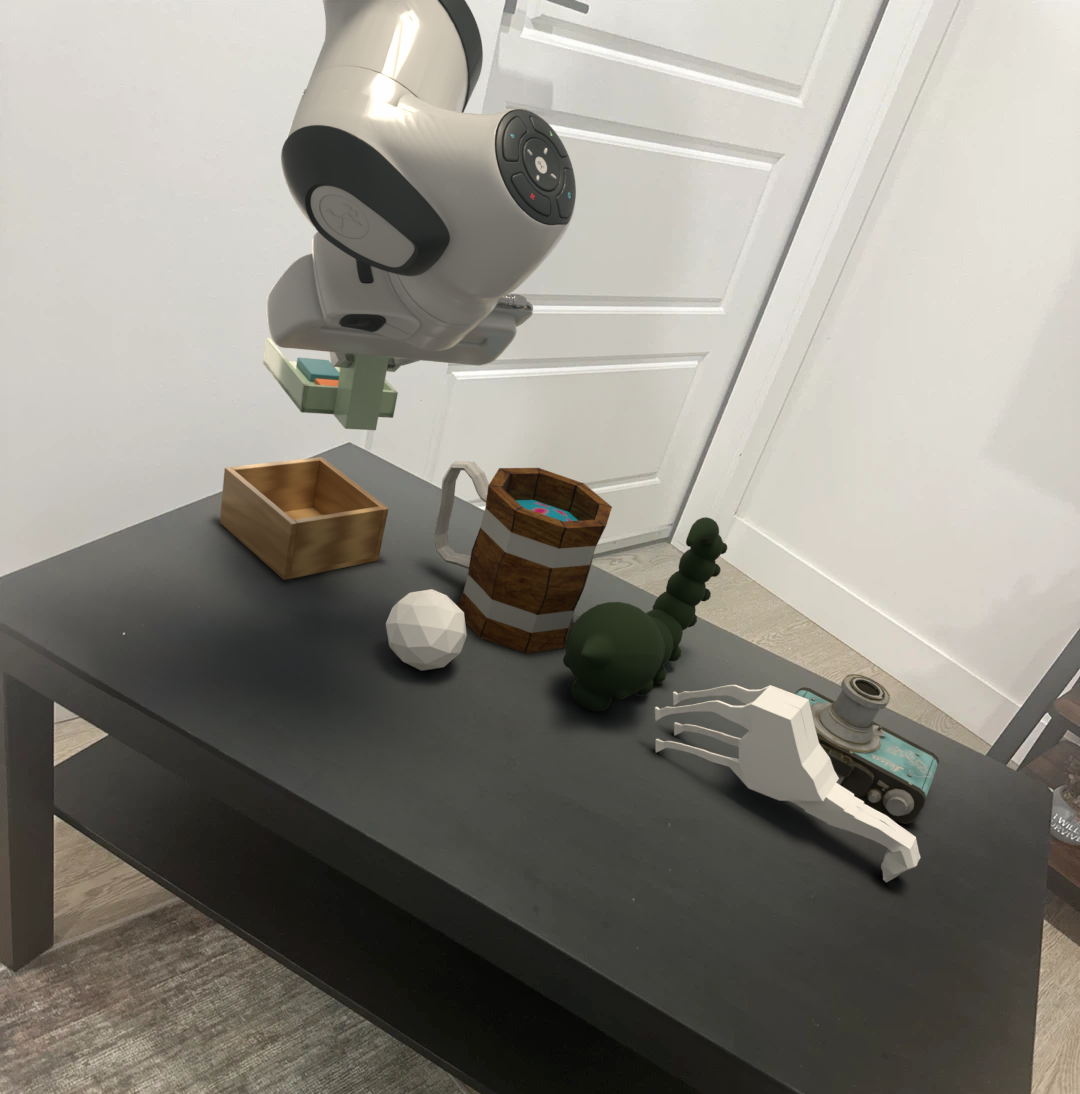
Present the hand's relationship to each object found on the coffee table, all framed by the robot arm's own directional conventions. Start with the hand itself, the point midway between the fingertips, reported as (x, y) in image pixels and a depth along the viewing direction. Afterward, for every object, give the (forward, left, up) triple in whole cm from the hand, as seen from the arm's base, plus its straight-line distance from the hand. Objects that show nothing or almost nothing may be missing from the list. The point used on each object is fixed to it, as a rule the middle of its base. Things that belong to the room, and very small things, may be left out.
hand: (361, 361), depth 86 cm
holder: (+5, +11, -25) cm, 28 cm away
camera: (+33, -46, -25) cm, 62 cm away
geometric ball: (+3, -12, -25) cm, 28 cm away
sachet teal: (+2, +8, -5) cm, 10 cm away
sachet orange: (+1, +4, -5) cm, 6 cm away
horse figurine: (+20, -45, -25) cm, 56 cm away
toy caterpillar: (+21, -24, -25) cm, 41 cm away
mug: (+18, -7, -25) cm, 32 cm away
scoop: (+1, +5, -5) cm, 7 cm away
